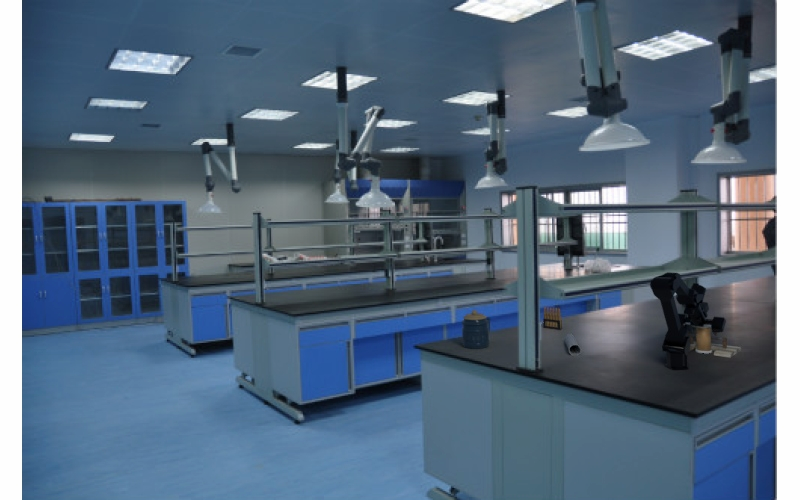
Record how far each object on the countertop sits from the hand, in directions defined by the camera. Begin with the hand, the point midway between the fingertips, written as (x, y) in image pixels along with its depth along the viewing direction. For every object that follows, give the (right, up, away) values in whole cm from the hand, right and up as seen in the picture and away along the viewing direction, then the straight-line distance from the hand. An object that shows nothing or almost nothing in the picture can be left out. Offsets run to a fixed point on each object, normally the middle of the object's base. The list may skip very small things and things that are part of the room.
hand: (704, 333), depth 229 cm
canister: (-94, -11, +31) cm, 99 cm away
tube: (-51, -10, +17) cm, 55 cm away
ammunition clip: (-48, -7, +61) cm, 78 cm away
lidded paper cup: (0, -8, 0) cm, 8 cm away
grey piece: (+2, -7, +2) cm, 8 cm away
